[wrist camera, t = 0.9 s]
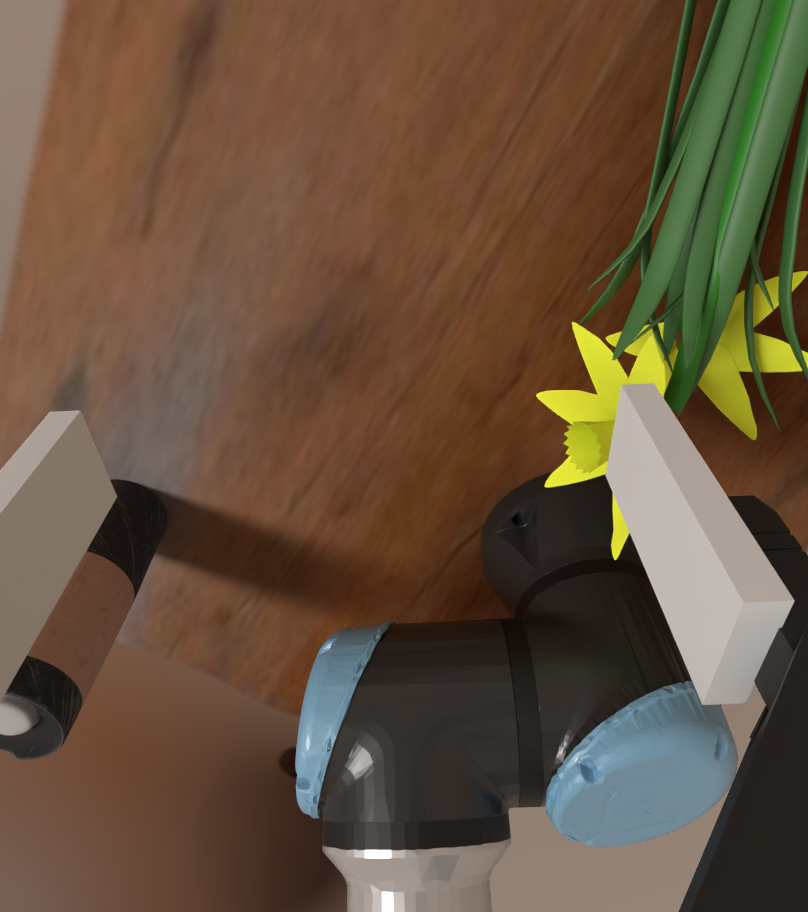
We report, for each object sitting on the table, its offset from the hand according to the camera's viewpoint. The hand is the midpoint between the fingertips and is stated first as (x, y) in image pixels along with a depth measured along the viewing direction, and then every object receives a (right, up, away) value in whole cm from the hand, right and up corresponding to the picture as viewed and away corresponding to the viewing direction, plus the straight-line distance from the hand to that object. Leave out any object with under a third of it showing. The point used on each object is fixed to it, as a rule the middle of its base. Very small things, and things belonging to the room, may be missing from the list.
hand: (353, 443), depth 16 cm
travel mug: (-23, -5, +38) cm, 45 cm away
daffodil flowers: (+17, +17, +22) cm, 33 cm away
